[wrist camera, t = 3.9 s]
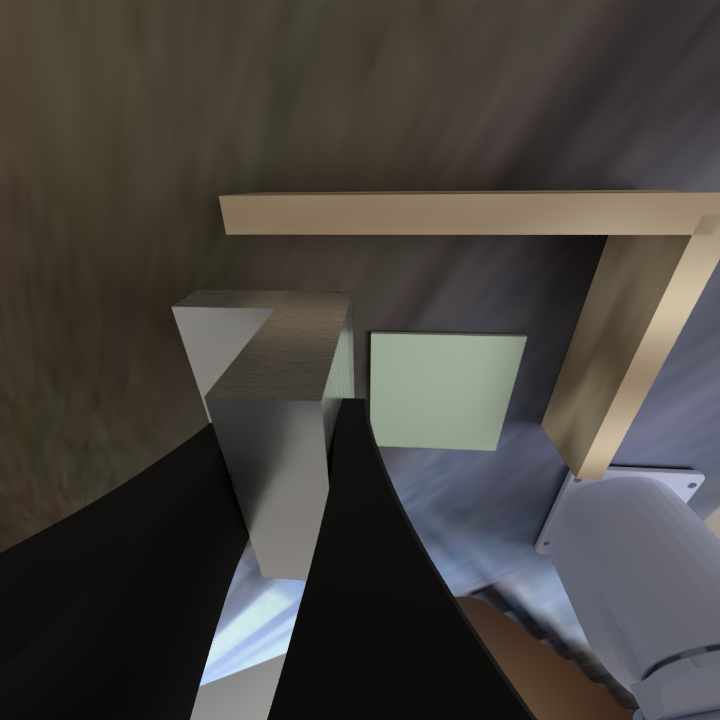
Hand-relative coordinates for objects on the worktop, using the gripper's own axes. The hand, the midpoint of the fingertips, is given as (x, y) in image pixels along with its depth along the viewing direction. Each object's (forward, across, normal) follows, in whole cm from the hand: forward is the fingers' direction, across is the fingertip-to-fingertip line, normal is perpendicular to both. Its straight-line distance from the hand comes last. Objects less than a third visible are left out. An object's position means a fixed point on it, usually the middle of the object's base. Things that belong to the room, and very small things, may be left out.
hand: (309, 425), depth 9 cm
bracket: (+3, +2, 0) cm, 3 cm away
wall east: (+9, -4, -5) cm, 11 cm away
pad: (+9, -5, +5) cm, 11 cm away
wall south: (+9, -12, +1) cm, 15 cm away
